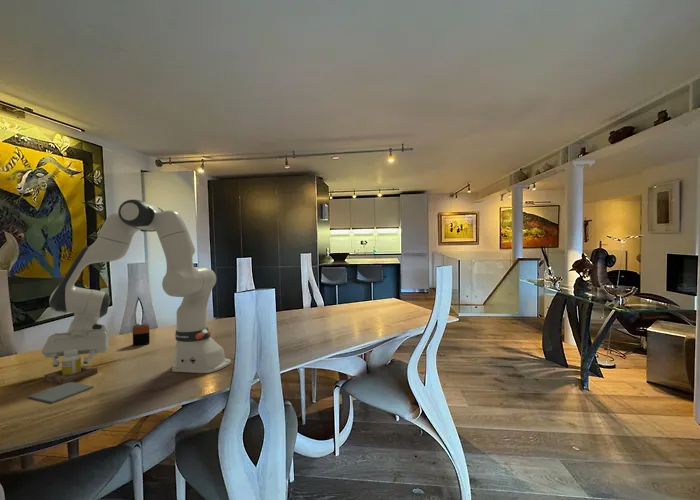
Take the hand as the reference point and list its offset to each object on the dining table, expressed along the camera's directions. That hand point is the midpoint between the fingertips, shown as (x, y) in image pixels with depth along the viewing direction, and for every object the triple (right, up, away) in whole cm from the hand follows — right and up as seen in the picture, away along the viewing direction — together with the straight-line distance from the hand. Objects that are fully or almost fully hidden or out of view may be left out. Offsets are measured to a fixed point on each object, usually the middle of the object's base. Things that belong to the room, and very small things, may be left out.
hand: (70, 364), depth 124 cm
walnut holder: (0, -5, 0) cm, 5 cm away
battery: (0, -4, +42) cm, 42 cm away
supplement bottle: (0, -5, 0) cm, 5 cm away
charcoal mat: (+8, -5, -13) cm, 16 cm away
